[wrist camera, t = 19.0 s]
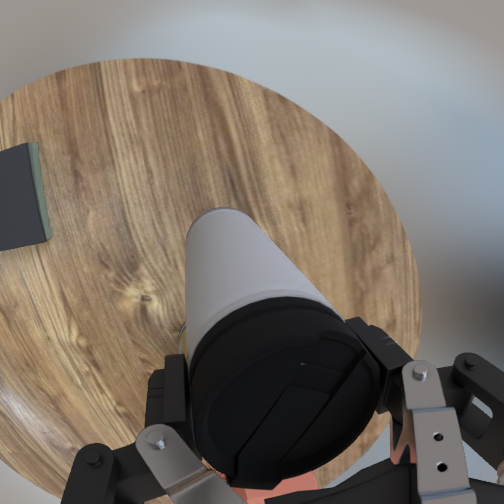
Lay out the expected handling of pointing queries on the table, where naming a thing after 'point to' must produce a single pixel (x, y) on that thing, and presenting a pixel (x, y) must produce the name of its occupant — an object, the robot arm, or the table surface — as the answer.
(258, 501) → the teapot
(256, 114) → the table surface
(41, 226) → the tablet screen
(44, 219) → the green laptop base
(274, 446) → the travel mug
